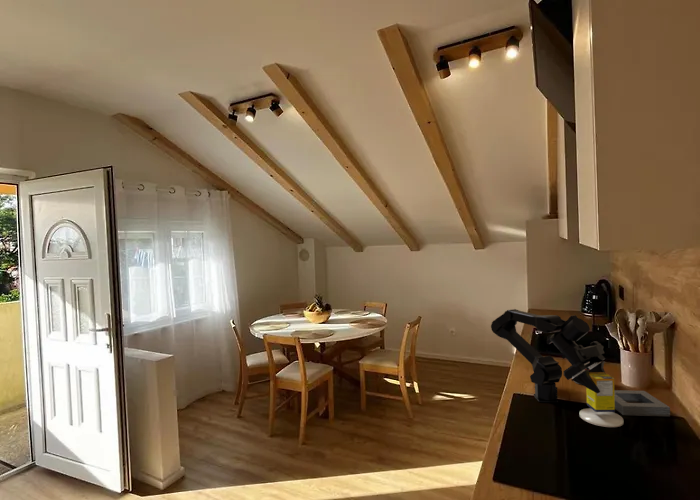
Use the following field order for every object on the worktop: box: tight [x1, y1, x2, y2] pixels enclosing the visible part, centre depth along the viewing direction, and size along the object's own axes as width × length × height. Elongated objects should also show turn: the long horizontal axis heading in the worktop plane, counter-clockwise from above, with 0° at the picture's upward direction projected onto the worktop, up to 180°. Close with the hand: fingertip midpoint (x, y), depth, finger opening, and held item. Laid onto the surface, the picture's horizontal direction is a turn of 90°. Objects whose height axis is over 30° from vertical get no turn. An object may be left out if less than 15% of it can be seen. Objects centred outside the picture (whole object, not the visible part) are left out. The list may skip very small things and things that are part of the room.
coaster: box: [578, 407, 624, 428], centre depth 128 cm, size 12×12×1 cm
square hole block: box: [614, 389, 671, 417], centre depth 135 cm, size 14×14×3 cm
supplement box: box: [585, 371, 616, 413], centre depth 128 cm, size 6×6×11 cm
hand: (604, 389), depth 127 cm, fingers closed on supplement box, 8 cm apart
